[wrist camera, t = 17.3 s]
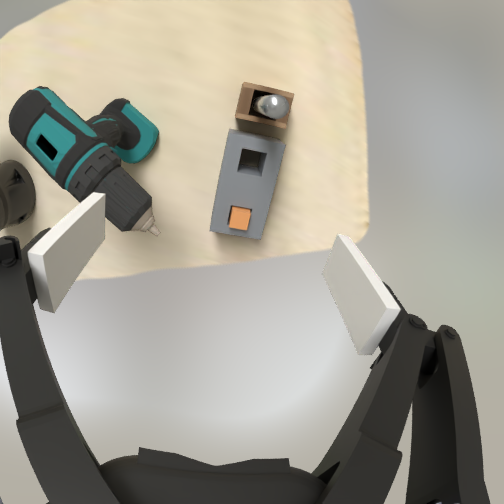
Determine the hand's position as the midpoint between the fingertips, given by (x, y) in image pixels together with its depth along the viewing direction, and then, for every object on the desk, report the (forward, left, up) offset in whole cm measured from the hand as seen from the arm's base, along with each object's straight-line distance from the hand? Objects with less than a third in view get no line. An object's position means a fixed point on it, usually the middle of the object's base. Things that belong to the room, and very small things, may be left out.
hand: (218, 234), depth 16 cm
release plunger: (+5, -11, -38) cm, 40 cm away
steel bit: (+4, +8, -39) cm, 40 cm away
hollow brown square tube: (+4, +8, -39) cm, 40 cm away
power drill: (-17, -2, -39) cm, 42 cm away
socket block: (+4, -6, -39) cm, 39 cm away
